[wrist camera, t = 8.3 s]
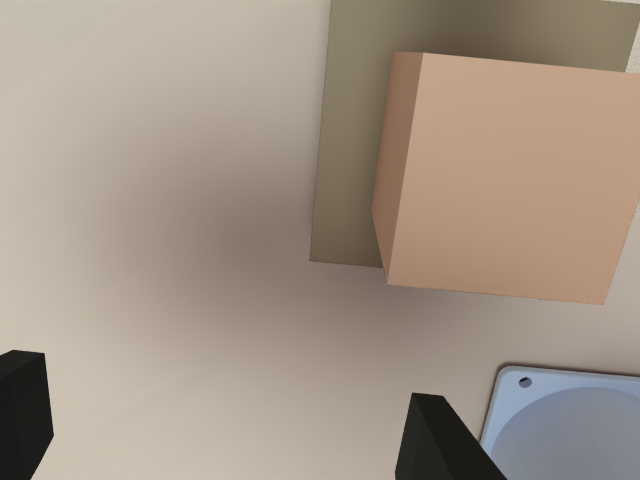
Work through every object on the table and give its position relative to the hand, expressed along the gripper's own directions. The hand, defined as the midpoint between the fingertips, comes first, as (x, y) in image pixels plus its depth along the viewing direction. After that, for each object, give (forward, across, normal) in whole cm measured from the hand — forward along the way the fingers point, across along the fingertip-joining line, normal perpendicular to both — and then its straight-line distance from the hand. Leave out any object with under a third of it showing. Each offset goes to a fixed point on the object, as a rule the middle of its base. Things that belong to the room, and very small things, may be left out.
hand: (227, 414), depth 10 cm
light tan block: (+6, -5, -5) cm, 9 cm away
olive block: (+9, -5, -5) cm, 12 cm away
